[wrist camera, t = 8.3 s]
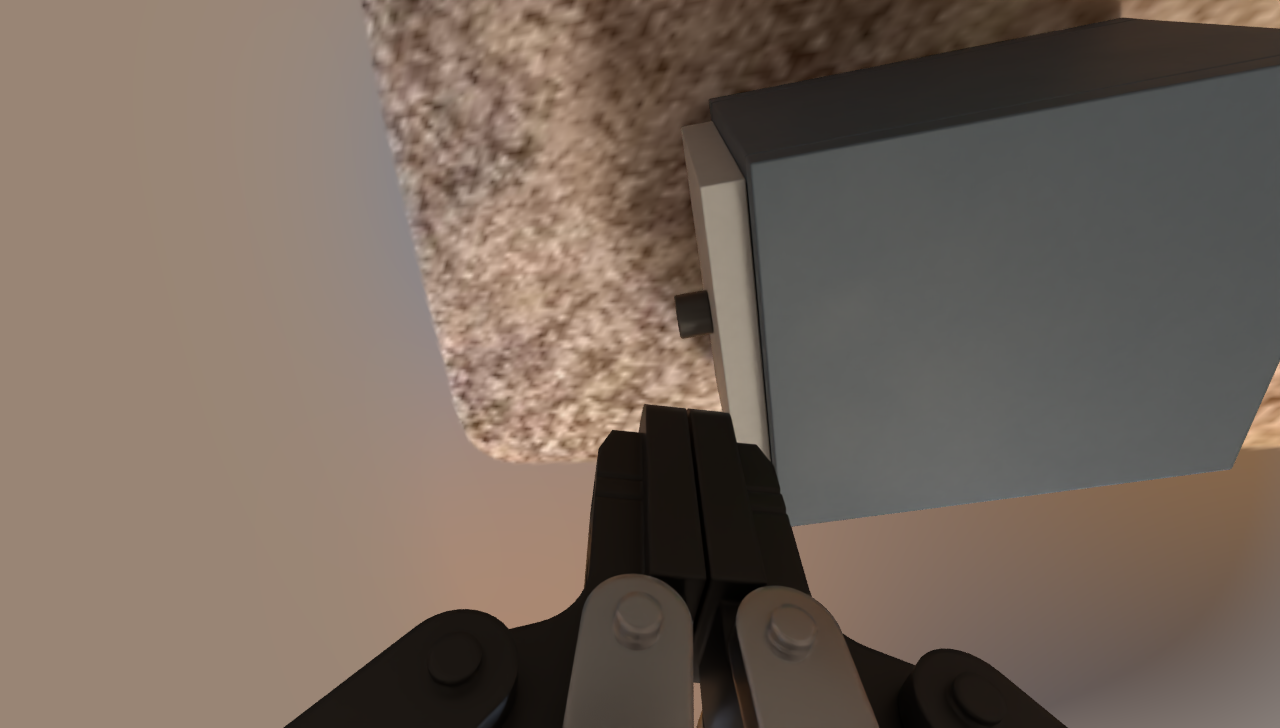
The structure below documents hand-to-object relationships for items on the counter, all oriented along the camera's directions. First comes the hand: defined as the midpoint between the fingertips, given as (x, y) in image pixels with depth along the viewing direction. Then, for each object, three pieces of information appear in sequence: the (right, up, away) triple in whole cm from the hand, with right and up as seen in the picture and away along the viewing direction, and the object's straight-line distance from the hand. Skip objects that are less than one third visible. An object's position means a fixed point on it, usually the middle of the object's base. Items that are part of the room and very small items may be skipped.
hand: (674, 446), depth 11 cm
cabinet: (+10, +7, +14) cm, 19 cm away
